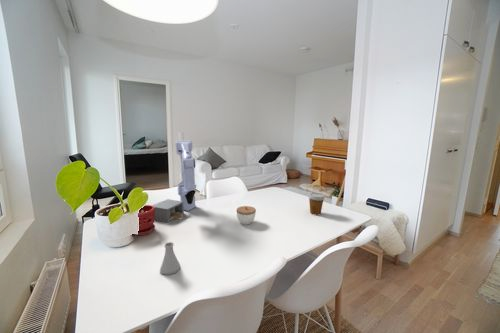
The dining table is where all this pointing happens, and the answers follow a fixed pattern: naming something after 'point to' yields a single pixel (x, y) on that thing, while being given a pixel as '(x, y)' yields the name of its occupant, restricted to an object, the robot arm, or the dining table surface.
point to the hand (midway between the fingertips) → (190, 203)
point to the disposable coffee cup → (316, 203)
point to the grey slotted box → (167, 209)
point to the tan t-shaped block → (175, 214)
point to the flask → (169, 261)
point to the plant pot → (146, 219)
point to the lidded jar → (246, 214)
